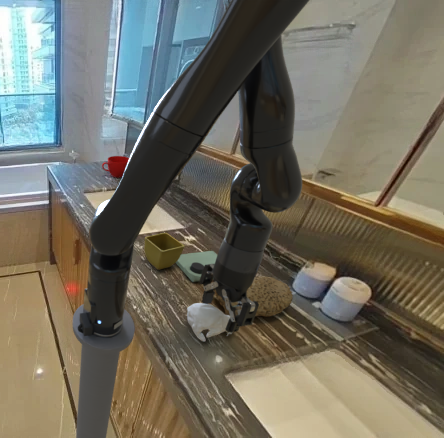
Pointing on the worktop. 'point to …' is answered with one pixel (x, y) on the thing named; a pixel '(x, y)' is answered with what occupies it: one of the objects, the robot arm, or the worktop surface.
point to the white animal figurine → (206, 320)
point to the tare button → (197, 268)
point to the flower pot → (162, 250)
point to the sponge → (265, 296)
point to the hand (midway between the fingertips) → (217, 316)
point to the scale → (200, 257)
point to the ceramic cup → (116, 165)
